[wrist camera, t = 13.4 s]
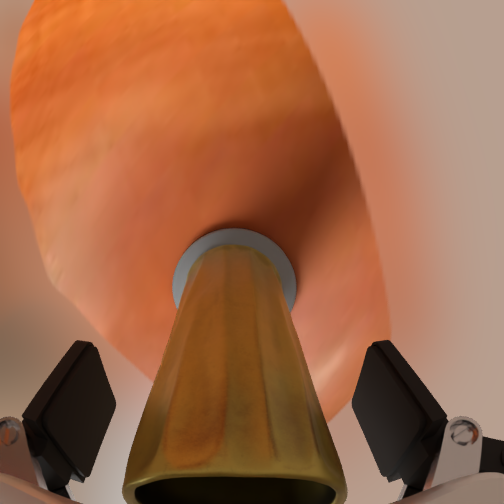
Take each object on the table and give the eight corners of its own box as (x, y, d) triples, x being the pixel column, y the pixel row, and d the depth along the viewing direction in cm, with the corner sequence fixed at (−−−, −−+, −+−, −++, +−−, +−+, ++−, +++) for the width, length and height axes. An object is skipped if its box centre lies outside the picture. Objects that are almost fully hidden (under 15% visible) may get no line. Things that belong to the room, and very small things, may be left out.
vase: (175, 253, 17) (50, 443, 3) (273, 234, 17) (389, 419, 3) (198, 337, 19) (165, 541, 5) (287, 322, 19) (355, 523, 5)
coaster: (171, 228, 18) (168, 230, 17) (297, 228, 18) (299, 230, 17) (180, 337, 20) (178, 343, 19) (290, 337, 20) (291, 343, 19)
